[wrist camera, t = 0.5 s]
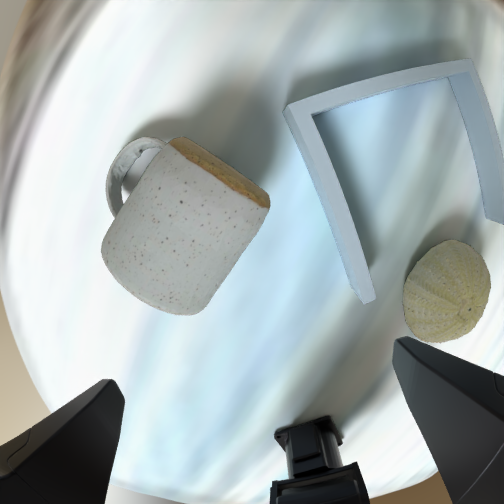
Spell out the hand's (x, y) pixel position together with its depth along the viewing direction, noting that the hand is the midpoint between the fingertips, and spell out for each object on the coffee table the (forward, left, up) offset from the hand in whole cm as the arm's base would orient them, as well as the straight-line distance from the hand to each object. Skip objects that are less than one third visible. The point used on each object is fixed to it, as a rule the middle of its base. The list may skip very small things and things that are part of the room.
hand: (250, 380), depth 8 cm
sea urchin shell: (-10, -14, -14) cm, 22 cm away
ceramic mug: (+5, +3, -14) cm, 15 cm away
